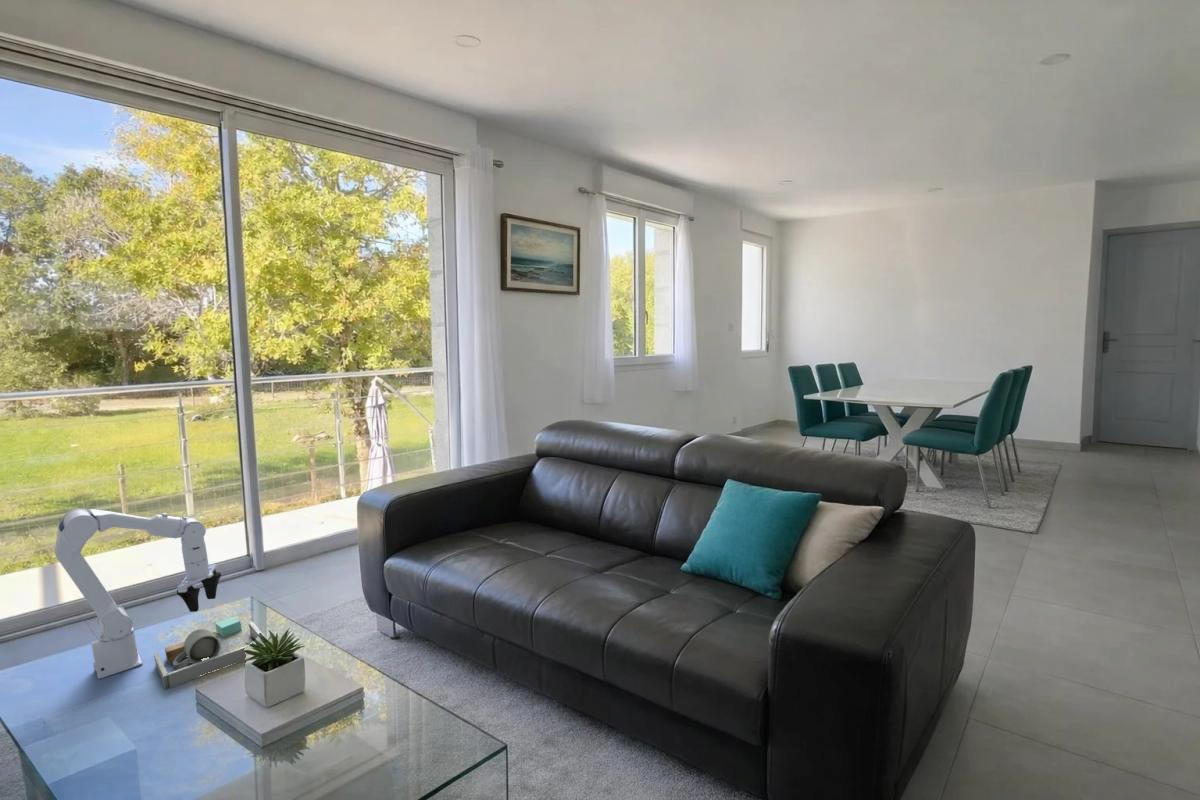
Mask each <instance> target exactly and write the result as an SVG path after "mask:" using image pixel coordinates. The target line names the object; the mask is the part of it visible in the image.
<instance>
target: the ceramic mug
mask: <svg viewBox="0 0 1200 800" xmlns="http://www.w3.org/2000/svg"><path fill="white" fill-rule="evenodd" d="M217 637H218V636H217ZM217 637H216V636H215V635H214V634H213V632H212V631H211V630H208V629H205V628H204V629H203V628H202V629H201V628H200V629H196V630H194V631H191V633H189V634H188V635H187V636H186V638H185V640H184V642H185V643H184V651H183V652H182V653H181V654H179V655H178V656H177V657H176V658H175V660H174V661H173V662H172V665H173V667H174V668H175V670H178V669H181V668H184V667H187V666H189V665H190V663H192V665H193V664H195V663H198V662H201V661H202V660H201V659H203V658H207V657H209V659H210V658H213V657H215V656H218V655H220V652H221V645H222V644H221V641H220V640H219V637H218V638H217ZM185 656H188V657H186V658H184V657H185ZM183 659H184V660H183Z"/></svg>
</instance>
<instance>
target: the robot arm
mask: <svg viewBox="0 0 1200 800" xmlns="http://www.w3.org/2000/svg"><path fill="white" fill-rule="evenodd" d="M111 528H122V529H132V530H142V531H144V530H145V531H146V532H147V533H148V535H150V536H153V537H161V538H168V539H169V538H170V539H180V541H181V542H180V543H181V553H182V559H183V562H184V563H183V564H184V565H183V566H184V570H185V577H184V579H183V580H182V581H181V583H180V584H178V585H177V590H176V594H177V595H178V596H179V597H180V598H181V599H182V600H183V602H184V603H185V605H186V606H187V609H188V610H189V612H190V613H195V612H198V611H199V607H200V606H199V594H200V590H201V588H199V587H198V588H197V587H195V585H196V584H198V583H200V582H201V583H202V586H203V588H204V593H205V596H206V598H207V600H215V599H216V596H217V590H218V584H219V581H220V578H221V576H222V573H221V572H219V565H218V564H217V563H216V564H214V563H213V564H209V559H208V553H207V552H208V551H207V546H206V541H205V535H206V533H207V529H206V528H205V526H204V525H203V523H202V522H200V521H199V520H198V519H196V518H194V517H191V516H188V517H187V516H184V515H183V516H182V517H178V516H171V515H169V514H168V513H167V512H161V514H157V513H156V514H154V515H153V516H151V517H143V516H139V515H133V514H128V513H121V512H116V511H109V510H103V509H102V510H101V509H94V508H91V509H89V510H88V509H85V508H74V509H71V510H69V511H68V512H66V513H65V514H64V515H63V517H62V519H61V520H60V521H59V523H58V525H57V535H56V541H55V546H54V554H55V558H56V559H57V560H58V562H59V563H60V564H61V566H62V567H63V569H64V570H65V572H66V573H67V575H68V576H69V577H70V579H71V580H72V581H73V584H74V585H75V586H76V587H77V589H78V590H79V592H80V593H81V594H82V596H83V597H84V599H85V600H86V602H87V604H89V606H90V607H91V609H92V611H93V612H94V613H95V615H96V616H97V624H98V625H99V626H100V628H101V630H102V632H101V634H100V636H99V638H98V639H96V640H94V641H92V642H90V644H91V650H92V656H93V660H94V662H93V663H92V664H93V670H95V671H96V675H97V678H98V680H99V679H103V678H106V677H109V676H112V675H115V674H118V673H121V672H124V671H127V670H130V669H133V668H136V667H138V666H141V665H143V661H142V659H141V656H140V654H139V652H138V648H137V642H136V641H137V640H136V635H135V630H134V627H133V619H131V617H130V616H129V615H128V613H127V610H126V609H125V608H124V607H123V606H122V605H119V604H117V603H116V602H115V601H114V599H113V597H112V596H111V595H110V593H109V592H108V590H107V589H106V587H105V586H104V584H103V583H102V582H101V580H100V579H99V577H98V576H97V574H96V572H95V571H94V570H93V568H92V567H91V565H90V564H89V563H88V561H87V560H86V558H85V557H84V556H83V554H82V551H83V549H84V547H85V545H86V543H87V541H89V540H90V539H91V538H92V537H93V536H94V535H95V534H96V533H97V531H98V532H99V533H102V532H105V531H107V530H109V529H111Z"/></svg>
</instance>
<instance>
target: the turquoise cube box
mask: <svg viewBox="0 0 1200 800" xmlns="http://www.w3.org/2000/svg"><path fill="white" fill-rule="evenodd" d="M214 624H215V632H216V633H217V632H218V633H217V634H219V635H220V636H221V637H223V638H225V637H226V636H229V634H230V635H233V634H234V632H235V633H237V632H240V631H242V623H241V620H239V619H238V618H237V617H235V616H230V617H228V618H226V619H222V620H220V621H217V622H215V623H214ZM239 630H240V631H239Z"/></svg>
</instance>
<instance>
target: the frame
mask: <svg viewBox="0 0 1200 800" xmlns="http://www.w3.org/2000/svg"><path fill="white" fill-rule="evenodd" d="M248 627H249V632H250V635H251V637H252V636H253V637H252V639H254V638H257V636H258V634H259V633H262V634H263V632H262V631H261V629H259V627H258V626H257V625H256V623H254V621H250V622H248ZM250 644H251V643H250ZM250 644H247V645H244V646H242V647H238V648H236V649H233V650H230V651H227V652H224V653H221V654H218V655H217V656H215V657H213V658H210V659H207V660H204V661H201V662H198V663H195V664H193V663H192V664H189V665H186V666H185V667H183V668H180V669H175V670H173V671H170V672H168V671H167V669H166V667H165V664H164V662H163V660H162V658H161V656H160V654H159V652H157V653H154V654H153V657H154V662H155V667H156V670H157V673H158V675H159V677H160V680H161V682H162V684H163V686H164V689H165V690H169V689H171V688H174V687H176V686H179V685H182V684H185V683H187V682H186V681H188V680H190V681H192V680H191V679H193V678H196V677H198V676H200V675H203V674H205V673H208V672H212V671H214V670H217V669H220V668H223V667H225V666H228V665H231V664H234V663H237V664H239V663H242V662H245V661H246V660H245V658H246V654H245V652H244V649H245V648H246V647H247V646H249V645H250ZM244 660H245V661H244ZM234 665H235V664H234ZM231 666H232V665H231ZM223 669H224V668H223ZM220 670H221V669H220ZM212 673H213V672H212ZM198 678H199V677H198ZM196 679H197V678H196ZM193 680H194V679H193ZM184 682H185V683H184ZM188 682H189V681H188Z"/></svg>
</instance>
